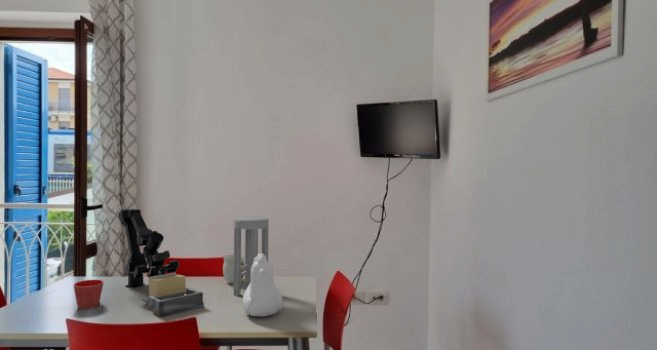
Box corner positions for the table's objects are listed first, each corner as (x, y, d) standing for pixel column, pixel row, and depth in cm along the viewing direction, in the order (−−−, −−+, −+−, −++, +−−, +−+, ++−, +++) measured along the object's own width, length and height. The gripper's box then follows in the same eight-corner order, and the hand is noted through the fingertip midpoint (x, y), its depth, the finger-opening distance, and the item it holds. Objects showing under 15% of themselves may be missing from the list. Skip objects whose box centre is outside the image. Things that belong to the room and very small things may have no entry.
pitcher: (250, 277, 222) (250, 251, 222) (239, 287, 204) (239, 259, 204) (230, 276, 223) (230, 251, 223) (217, 286, 205) (217, 258, 205)
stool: (227, 295, 190) (227, 219, 189) (246, 287, 204) (246, 215, 204) (256, 300, 184) (257, 221, 183) (273, 290, 198) (274, 217, 198)
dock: (131, 302, 182) (131, 286, 182) (173, 293, 196) (173, 278, 195) (158, 319, 162) (158, 301, 162) (203, 308, 175) (203, 292, 175)
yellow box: (148, 300, 177) (148, 276, 177) (175, 294, 186) (175, 272, 186) (158, 305, 170) (158, 281, 170) (186, 299, 179) (186, 276, 179)
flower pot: (109, 303, 177) (109, 280, 177) (86, 311, 167) (87, 287, 167) (90, 300, 181) (90, 278, 181) (67, 308, 170) (67, 284, 170)
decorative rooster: (280, 322, 158) (281, 256, 158) (238, 322, 158) (239, 256, 157) (284, 301, 183) (284, 244, 183) (248, 301, 182) (248, 244, 182)
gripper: (135, 247, 179) (145, 278, 171) (177, 242, 192) (189, 271, 184) (129, 263, 184) (138, 293, 176) (170, 257, 197) (180, 285, 190)
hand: (162, 285), depth 182 cm, fingers closed, pressing on yellow box
